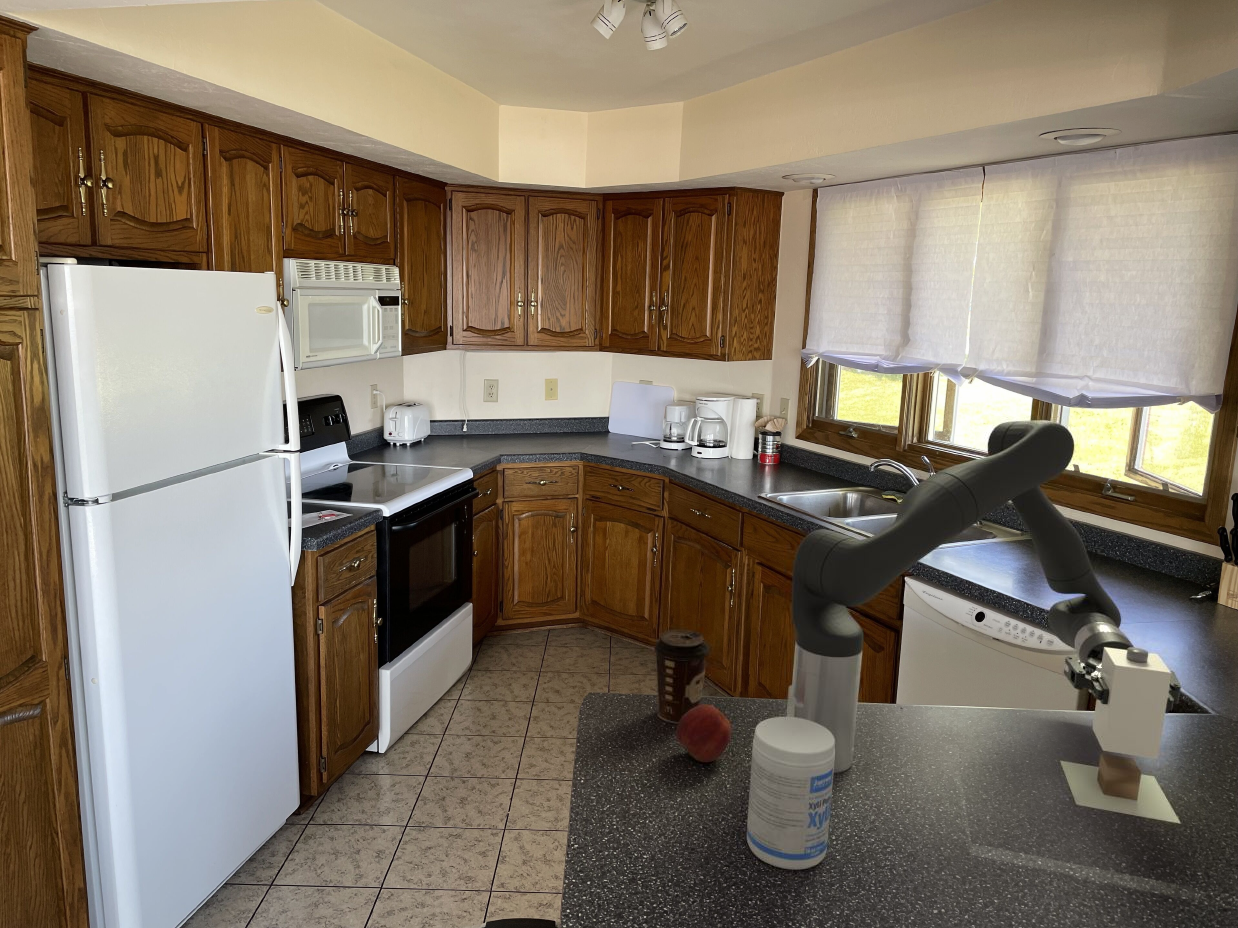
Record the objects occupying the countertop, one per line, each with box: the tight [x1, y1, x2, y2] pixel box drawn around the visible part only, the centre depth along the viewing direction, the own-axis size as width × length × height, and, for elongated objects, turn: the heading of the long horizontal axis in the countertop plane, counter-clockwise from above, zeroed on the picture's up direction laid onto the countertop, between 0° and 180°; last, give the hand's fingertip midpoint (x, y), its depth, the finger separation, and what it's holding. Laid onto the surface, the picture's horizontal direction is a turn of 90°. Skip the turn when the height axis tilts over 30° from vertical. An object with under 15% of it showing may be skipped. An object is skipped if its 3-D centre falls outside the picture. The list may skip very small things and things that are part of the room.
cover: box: [1092, 646, 1172, 760], centre depth 115 cm, size 6×6×13 cm
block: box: [1097, 752, 1142, 801], centre depth 117 cm, size 4×4×4 cm
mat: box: [1059, 760, 1181, 824], centre depth 117 cm, size 12×12×1 cm
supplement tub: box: [746, 716, 835, 870], centre depth 102 cm, size 10×10×15 cm
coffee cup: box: [653, 629, 711, 725], centre depth 135 cm, size 9×8×13 cm
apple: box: [675, 703, 732, 763], centre depth 123 cm, size 7×8×8 cm
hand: (1136, 701), depth 113 cm, fingers closed on cover, 6 cm apart
